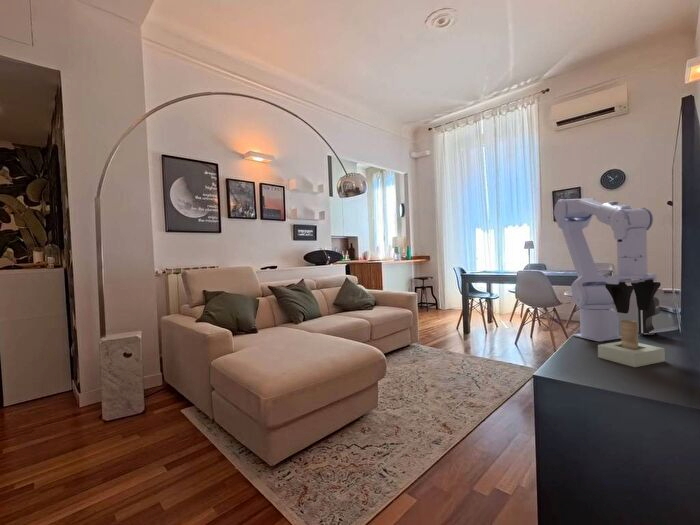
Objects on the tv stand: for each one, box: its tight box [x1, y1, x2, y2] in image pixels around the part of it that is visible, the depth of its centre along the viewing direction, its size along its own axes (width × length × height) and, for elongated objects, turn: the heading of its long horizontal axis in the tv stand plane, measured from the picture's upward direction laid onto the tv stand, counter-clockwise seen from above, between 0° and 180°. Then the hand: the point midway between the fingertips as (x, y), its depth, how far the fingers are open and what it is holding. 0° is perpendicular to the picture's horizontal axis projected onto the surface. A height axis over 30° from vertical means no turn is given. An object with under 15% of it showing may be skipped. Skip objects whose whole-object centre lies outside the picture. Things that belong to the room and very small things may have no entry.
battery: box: [637, 296, 661, 335], centre depth 100 cm, size 7×4×11 cm, turn 126°
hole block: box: [597, 340, 666, 368], centre depth 79 cm, size 10×8×3 cm
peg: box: [620, 319, 639, 350], centre depth 79 cm, size 3×3×9 cm
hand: (633, 311), depth 84 cm, fingers open, 7 cm apart
